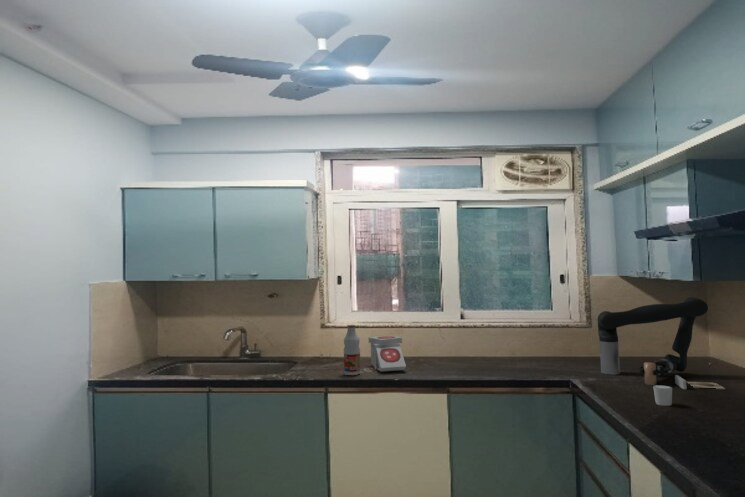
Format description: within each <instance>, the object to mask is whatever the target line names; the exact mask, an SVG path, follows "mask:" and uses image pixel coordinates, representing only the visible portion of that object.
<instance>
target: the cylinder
mask: <svg viewBox="0 0 745 497" xmlns="http://www.w3.org/2000/svg"><path fill="white" fill-rule="evenodd" d="M643 365H644V374H643V375H644V384H646V385H647V386H655V385H658V384H657V383H658V382H657V375H653V371H654V370H656V363H653V362H650V361H648V362H647V361H646V362H643Z"/></svg>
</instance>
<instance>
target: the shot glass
mask: <svg viewBox="0 0 745 497" xmlns="http://www.w3.org/2000/svg"><path fill="white" fill-rule="evenodd" d="M652 386H653V394H654V400H655V404H656V405H659V406H664V407H665V406H666V407H669V406H672V404H673V403H672V402H673V387H672V386H668V385H663V384H662V385H660V384H659V385H658V384H657V385H652Z"/></svg>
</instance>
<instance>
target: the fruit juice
mask: <svg viewBox="0 0 745 497" xmlns="http://www.w3.org/2000/svg"><path fill="white" fill-rule="evenodd" d="M346 328H347V332H346V334H345V336H344V338H343V345H344V346H343V370H344V371H343V373H344V372H345V373H359V372H360V371H361V347H360V337H359V336H358V335H357V332H356V325H355V324H348V325H346Z"/></svg>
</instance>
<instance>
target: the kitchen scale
mask: <svg viewBox="0 0 745 497" xmlns="http://www.w3.org/2000/svg"><path fill="white" fill-rule="evenodd" d="M368 343H369V344H370V364H371V363H372V364H373V365H374V366H375V367H376V368H380V370H379V372H391V371H395V372H396V371H405V370H406V367H407V364H406V361H405V359H404V355H403V351H402V348H401V345H400V344H403V338H402V336H401V337H400V336H395V335H389V334H388V335H381V336H380V335H378V336H370V337H368Z"/></svg>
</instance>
